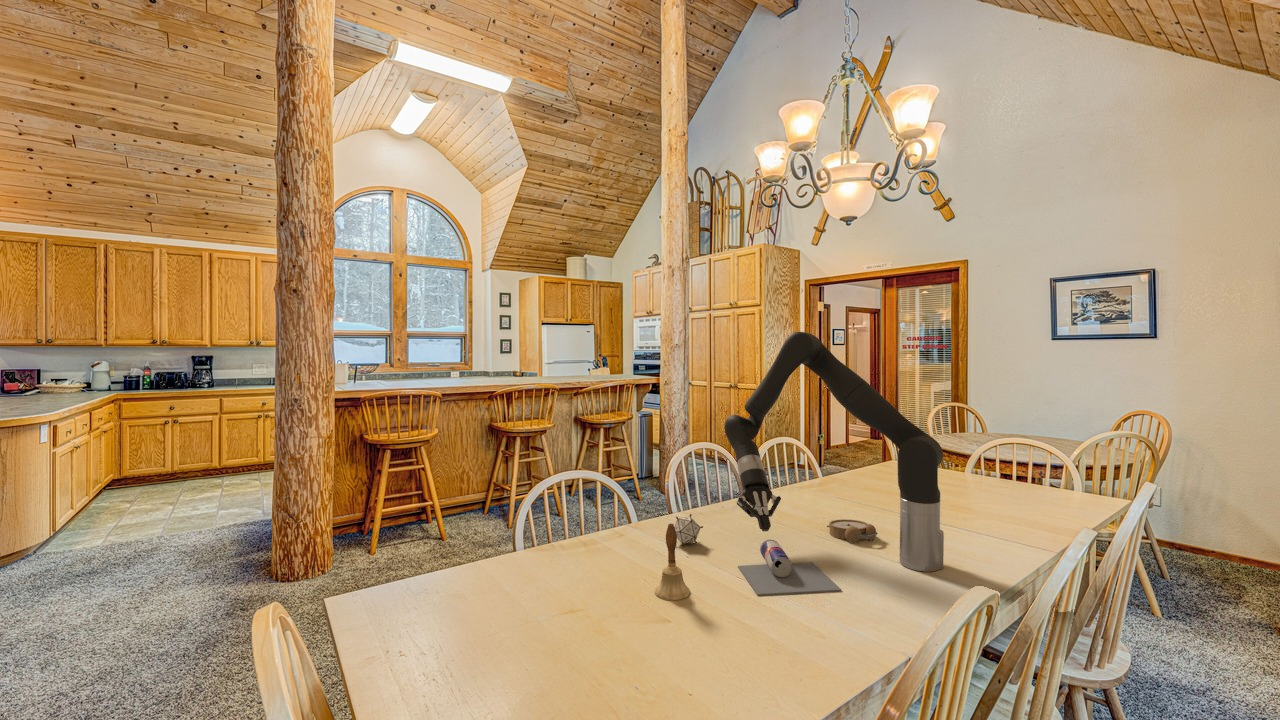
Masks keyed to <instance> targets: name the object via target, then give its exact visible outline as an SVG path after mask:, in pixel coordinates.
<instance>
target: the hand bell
mask: <svg viewBox="0 0 1280 720" xmlns="http://www.w3.org/2000/svg"><path fill="white" fill-rule="evenodd" d="M674 527H675V524H674V523H668V525H667V528H666V531H665V545H666V547H667V551H668V553H667V554H668V556H667V557H668V559H667V562H668V563H667V564H668V565H667V566H665V567H663V569H662V573H661V579H660V582H659V583H658V585H657V586H656V588H655V590H654V595H656V597H657V598H659V599H661V600H665V601H682V600H684V599H687V598H688V597H689V596H690V595H691V589H690V588H689V586H687V585H686V582H685V580H684V576H683V570H682V569H681V567H680V566H677V565H676V564H677V563H676V562H677V561H676V547H677V543H678V542H677V541H678V539H677V534H676V531H675V528H674Z"/></svg>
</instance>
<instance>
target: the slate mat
mask: <svg viewBox="0 0 1280 720" xmlns="http://www.w3.org/2000/svg"><path fill="white" fill-rule="evenodd" d="M791 563H792V571H791V573H790V574H789V575H788V576H786V577H778V576H776V575H774V574H773V573H772V571H771V570H770V568H769V566H768V565H767V563H766V564H748V565H747V564H746V565H745V564H744V565H737V568H738V569H739V571H740V573H741V574H742V576H743V577H744V578H745V580H746V581H747V583H748V584H749V585H750V587H751V589H752V590H753V591H754V594H755V595H756V596H758V597H759V595H760V597H761V595H762V596H776V595H777V596H778V595H779V594H781V595H795V594H796V595H797V594H815V593H816V594H817V592H818V593H831V592H833V593H836V592H842V588H841V587H839V585H837V584H836V583H835V582H834V581H833V579H831V578H830V577H829V576H828V575H827V574H826V573H825V572H824V571H823V570H822V569H820V567H819V566H817V564H815V563H814V562H813V561H811V562H809V561H808V562H791Z"/></svg>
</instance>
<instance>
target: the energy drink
mask: <svg viewBox="0 0 1280 720" xmlns="http://www.w3.org/2000/svg"><path fill="white" fill-rule="evenodd" d="M759 549H760V554H761V556H762V558H763V560H764V561H765V563H766V564H767V565H768V566H769V568H770V570H771V571H772V573H773V574H774V575H776V576H778V577H786V576H788V575H789V574H790V573H791V571H792V563H793V562H792V560H791V559H790V558H789V556H788V555H787V553H786V552H785V551H784V550H783V548H782V546H781V545H780V544H779V542H777V541H776V540H775V539H766V540H764V541H763V542H762V543H761V545H760V548H759Z"/></svg>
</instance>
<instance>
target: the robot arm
mask: <svg viewBox="0 0 1280 720" xmlns="http://www.w3.org/2000/svg"><path fill="white" fill-rule="evenodd" d="M801 365H804V366H805V367H806V368H808V369H809V370H810V371H811V372H813V373H814V374H815V375H817V376H818V377H819V378H820V379H821V381H823V383H824V384H825V386H826V387H827V389H828V390H829V391H830V393H831V394H832V396H833V398H835V400H836V401H837V402H838V403H839V405H841V406H842V407H843V408H845V410H846V411H848V413H850V414H851V415H852V416H853V417H854V418H856V419H857V420H859V421H860V422H862V423H864V424H865V425H866V426H868V427H870V428H871V429H873V430H876V431H877V432H879V433H880V434H882V435H883V436H884V437H886V438H887V439H888V440H889V441H890V442H892V444H894V446H895V447H896V448H897V449H898V451H897V483H898V484H897V486H898V488H899V497H900V498H899V563H900V564H901V565H902V566H903V567H905V568H908V569H911V570H915V571H919V572H925V573H926V572H928V573H929V572H936V571H938V570H940V569H944V555H945V554H944V548H945V546H944V544H945V543H944V541H945V540H944V539H945V537H944V534H945V533H944V531H943V530H942V529H941V490H940V489H939V479H938V477H939V475H938V473H939V471H938V469H939V468H938V467H939V466H940V465H941V463H942V462H943V459H944V451H943V448H942V446H941V444H940V443H939V442H938V441H937V440H936V439H935V438H933V437H932V436H930V435H929V434H928V433H927V432H925V431H924V430H922V429H921V428H919V427H918V426H916V425H915V424H914V423H913V422H911V421H910V420H909V419H908V418H906V417H905V416H904V415H903V414H901V413H900V411H899V410H898V409H896V407H894V405H893V404H892V403H890V402H889V401H888V400H887V399H886V398H885V397H884V396H883V395H881V393H880V392H878V391H877V390H876V389H875V388H874V387H873V386H871V384H869V383H868V382H867V381H866V380H865V379H864V378H862V377H861V376H860V375H859V374H857V373H856V372H854V370H852V369H851V368H849V366H847V365H845V364H844V363H842V362H841V361H840V360H839V359H838V358H837V357H836V356H835V355H834V354H833V353H832V352H831V351H830V350H829V348H827V346H825V344H824V343H823V342H822V341H821V339H819V338H818V337H817V335H814V334H813V333H809V332H804V331H795V332H792V333H791V334H790V335H788V336H787V337H786V339H785V340H784V342H783V344H782V346H781V348H780V349H779V352H778V353H777V356H776V358H775V360H774V361H773V363H772V365H771V367H770V368H769V370H768V372H767V373H766V374H765V376H764V377H763V379H762V381H761V382H760V383H759V385H758V386H757V387H756V388H755V390H754V391H753V393H752V394H751V395H750V397H749V398H748V400H747V401H746V402H745V404H744V409H745V411H746V412H747V413H748V414H749V416H748V417H747V418H746V417H743V416H741V415H738V414H732V415H729V416H728V417H727V418H726V419H725V422H724V427H723V429H724V434H725V436H726V438H727V441H728V442H729V444H730V446H731V448H732V450H733V451H734V456H735V459H736V464H737V470H738V471H737V472H738V477H739V480H740V484H741V488H742V496H740V497H738V498H737V501H736V505H737V506H738V507H739V508H740V509H742V510H743V512H745V514H747V516H749V517H750V518H755V519H757V522H758V523H757V524H758V527H759V529H760V530H761V531H762V532H769V530H770V529H771V525H772V524H771V519H770V518H772V517H773V516H774V513H775V512H776V509H777V507H778V505H779V504H780V502H781V500H782V497H781V496H780V495H778V496H776V495H775V494H773V491H772V490H771V489H770V486H769V485H770V484H769V481H768V477H767V474H766V471H765V467H764V464H763V461H762V459H761V458H762V457H761V454H760V451H759V448H758V444H757V443H756V442H755V441H754V439H756V437H757V436H758V435H759V433H760V430H761V427H762V425H763V422H764V420H765V417H766V415H767V414H768V413H769V412H770V410H771V409H772V408H773V406H774V405H775V404H776V402H777V401H778V399H779V397H780V396H781V393H782V392H783V389H784V387H785V385H786V383H787V381H788V379H789V378H790V377H791V375H792V374H793V373H794V372H795V371H796V370H797V368H798V367H800V366H801ZM770 500H771V504H772V506H771V507H770V509H769V507H768V506H769V503H770Z"/></svg>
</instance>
